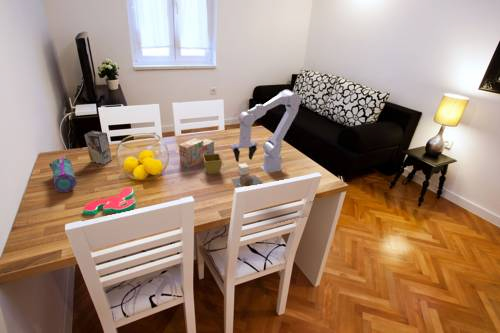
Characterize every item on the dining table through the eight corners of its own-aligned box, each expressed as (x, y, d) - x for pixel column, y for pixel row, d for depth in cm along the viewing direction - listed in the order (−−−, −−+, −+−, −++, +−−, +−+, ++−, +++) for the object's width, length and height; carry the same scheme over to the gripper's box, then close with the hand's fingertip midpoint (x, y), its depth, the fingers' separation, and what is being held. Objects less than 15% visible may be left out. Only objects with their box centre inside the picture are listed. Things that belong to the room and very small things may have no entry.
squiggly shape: (132, 190, 130) (132, 186, 129) (138, 210, 117) (137, 205, 116) (83, 200, 121) (82, 195, 120) (84, 222, 109) (82, 217, 107)
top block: (244, 171, 152) (245, 162, 150) (248, 174, 149) (249, 166, 147) (237, 172, 150) (238, 164, 148) (241, 176, 147) (241, 167, 145)
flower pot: (205, 177, 144) (204, 161, 140) (202, 169, 151) (202, 154, 147) (221, 175, 146) (222, 160, 142) (218, 167, 154) (219, 153, 149)
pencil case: (52, 175, 136) (47, 157, 132) (73, 171, 141) (68, 154, 137) (56, 196, 122) (50, 177, 117) (79, 190, 127) (74, 172, 122)
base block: (248, 181, 141) (248, 175, 140) (253, 186, 138) (253, 179, 136) (239, 183, 139) (239, 176, 137) (243, 188, 135) (244, 181, 134)
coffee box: (112, 159, 154) (107, 132, 147) (104, 164, 149) (99, 137, 141) (98, 157, 156) (92, 130, 148) (90, 162, 150) (83, 134, 143)
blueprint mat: (254, 175, 149) (254, 174, 148) (267, 188, 138) (267, 187, 138) (230, 180, 143) (230, 179, 143) (242, 194, 132) (242, 193, 132)
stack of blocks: (206, 152, 170) (206, 133, 164) (214, 155, 167) (214, 136, 161) (180, 164, 155) (178, 144, 149) (187, 168, 151) (186, 147, 146)
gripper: (254, 131, 146) (252, 154, 152) (228, 134, 139) (228, 158, 146) (260, 136, 140) (258, 160, 147) (234, 139, 134) (233, 164, 140)
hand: (243, 160), depth 146 cm, fingers open, 7 cm apart
